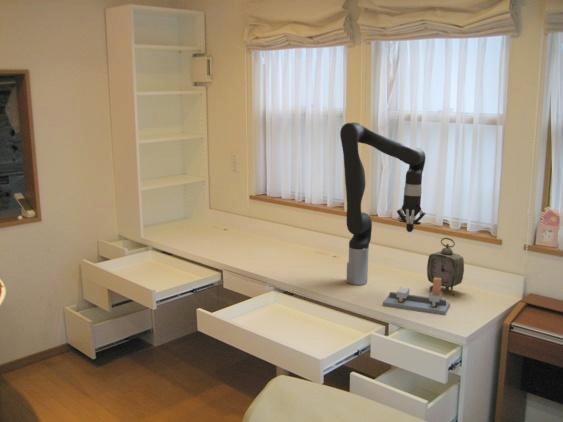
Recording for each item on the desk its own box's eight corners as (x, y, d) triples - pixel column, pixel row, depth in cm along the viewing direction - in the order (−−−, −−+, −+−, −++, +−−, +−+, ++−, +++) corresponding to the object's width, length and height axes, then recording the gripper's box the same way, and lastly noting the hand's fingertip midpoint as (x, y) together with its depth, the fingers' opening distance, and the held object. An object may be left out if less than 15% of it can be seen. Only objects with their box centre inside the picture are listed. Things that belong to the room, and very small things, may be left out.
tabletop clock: (425, 289, 286) (428, 236, 281) (436, 285, 292) (439, 233, 287) (453, 297, 276) (457, 242, 271) (464, 292, 282) (468, 239, 277)
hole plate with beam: (382, 305, 264) (383, 292, 263) (389, 296, 275) (390, 284, 274) (444, 314, 254) (445, 301, 253) (449, 305, 265) (450, 292, 264)
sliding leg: (428, 305, 259) (430, 282, 256) (432, 300, 265) (433, 277, 263) (438, 307, 257) (440, 283, 255) (441, 301, 264) (443, 278, 262)
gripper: (395, 193, 274) (393, 231, 278) (425, 196, 269) (422, 235, 272) (399, 190, 281) (397, 228, 284) (429, 194, 275) (426, 231, 279)
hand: (409, 231), depth 278 cm, fingers closed
